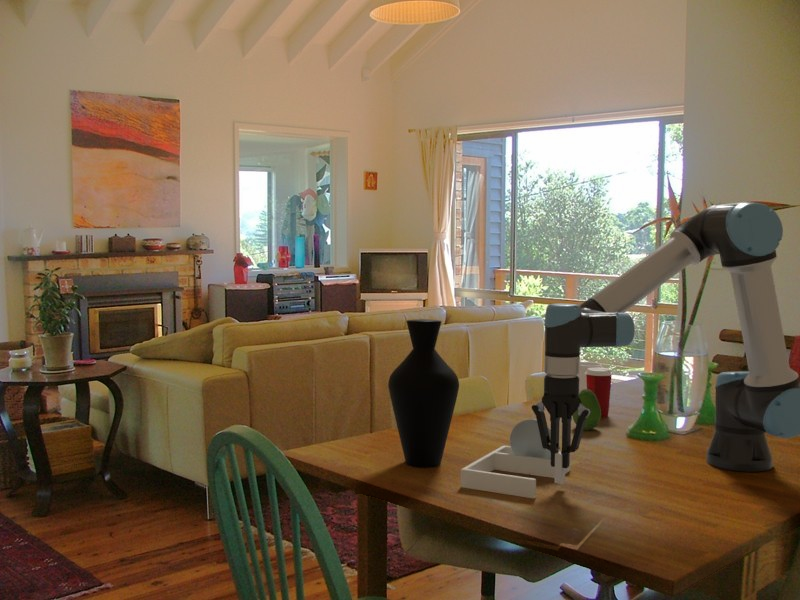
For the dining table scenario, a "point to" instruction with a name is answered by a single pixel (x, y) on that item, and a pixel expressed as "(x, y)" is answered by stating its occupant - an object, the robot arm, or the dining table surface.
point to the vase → (423, 397)
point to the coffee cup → (600, 387)
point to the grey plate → (528, 440)
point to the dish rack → (505, 460)
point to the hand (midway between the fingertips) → (559, 481)
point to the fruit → (592, 403)
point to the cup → (582, 375)
